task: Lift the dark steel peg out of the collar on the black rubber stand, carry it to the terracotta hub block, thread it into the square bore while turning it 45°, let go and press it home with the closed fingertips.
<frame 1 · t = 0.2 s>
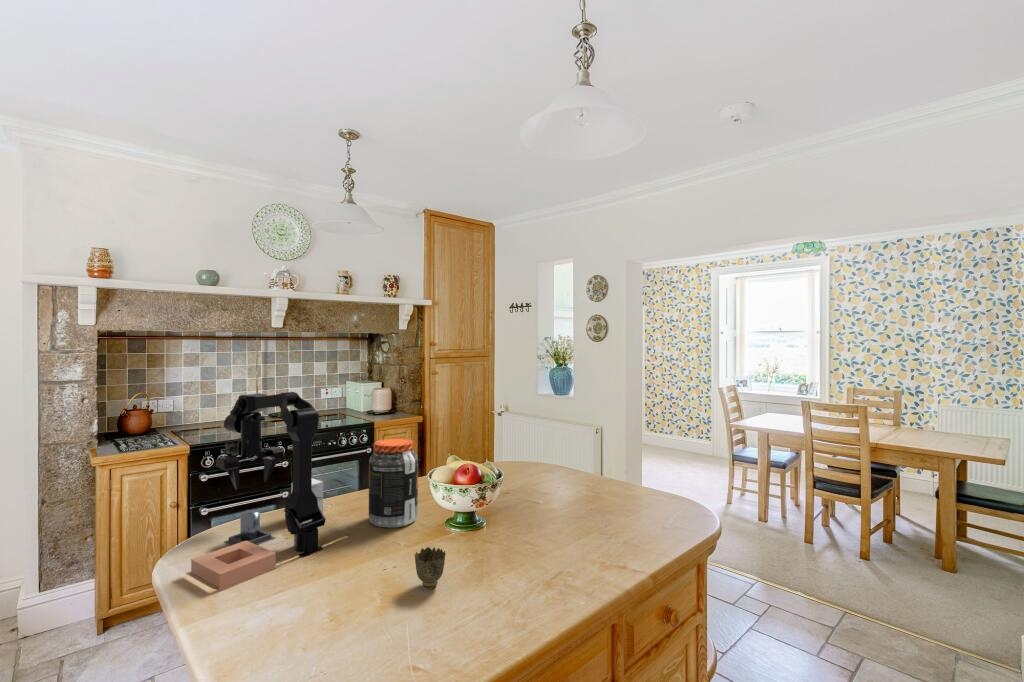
hand: (251, 485, 155), 14 cm above the table, fingers open, 9 cm apart
stand: (250, 542, 146), on the table
cup: (429, 586, 122), on the table
supplement tub: (393, 520, 165), on the table
supplement box: (307, 520, 164), on the table
steel peg: (250, 539, 146), point 1 cm above the table, touching stand
hub block: (234, 571, 128), on the table
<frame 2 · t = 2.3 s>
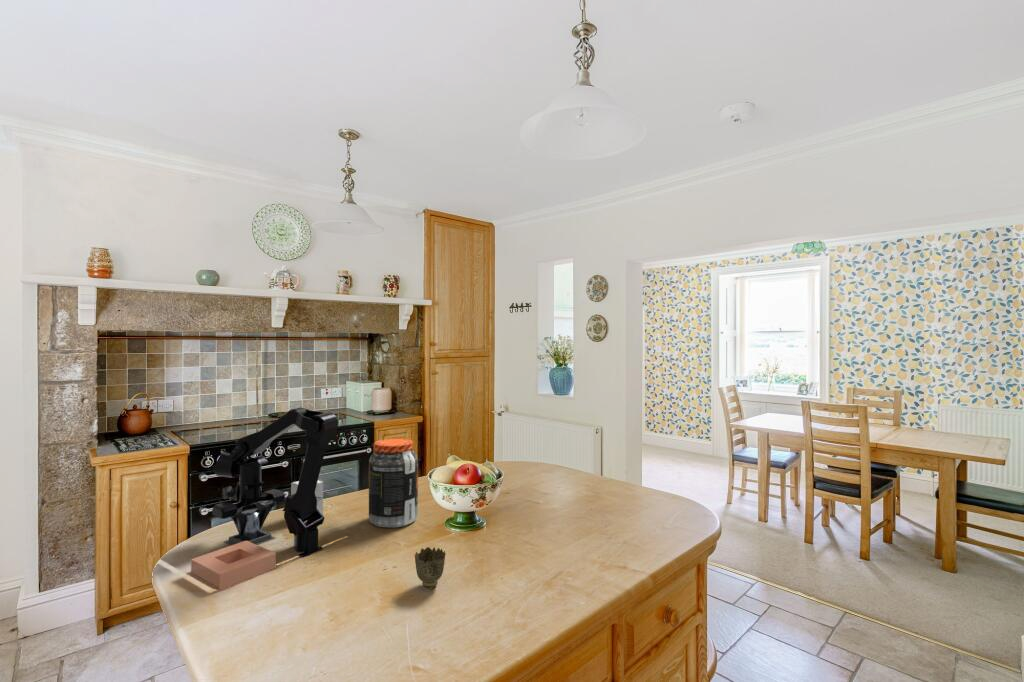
hand: (250, 532, 146), 3 cm above the table, fingers closed on steel peg, 5 cm apart
steel peg: (250, 539, 146), point 1 cm above the table, touching gripper, stand
everything else where it was.
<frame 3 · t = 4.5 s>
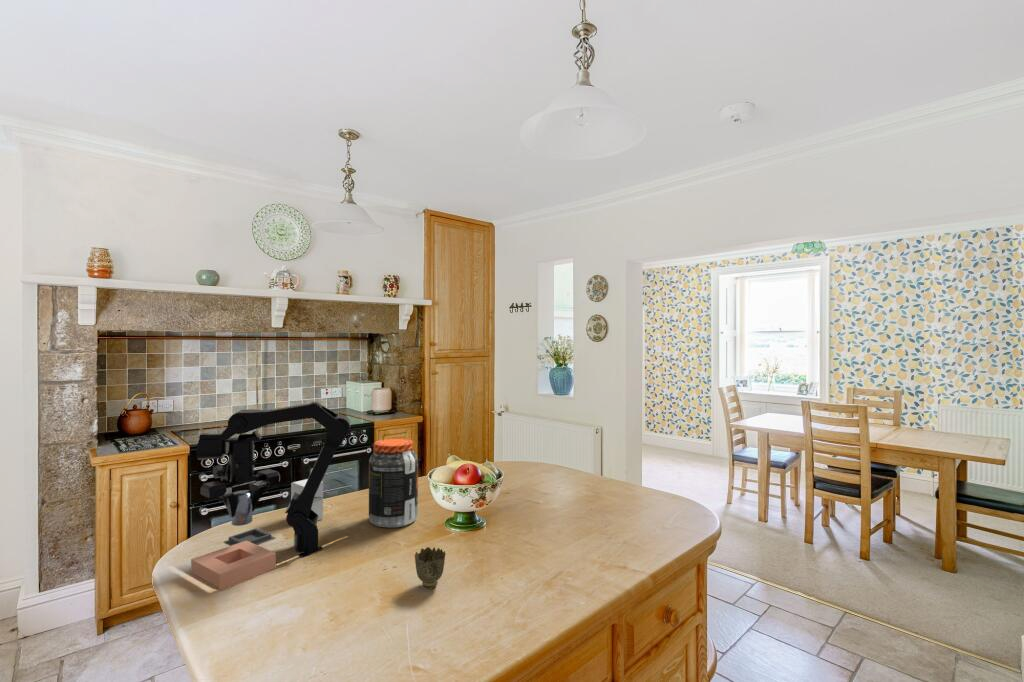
hand: (242, 514, 136), 12 cm above the table, fingers closed on steel peg, 5 cm apart
steel peg: (242, 522, 136), point 10 cm above the table, touching gripper
everything else where it was.
when the fingers open (5 cm above the table, at t = 6.8 s): steel peg drops 2 cm, resting in hub block.
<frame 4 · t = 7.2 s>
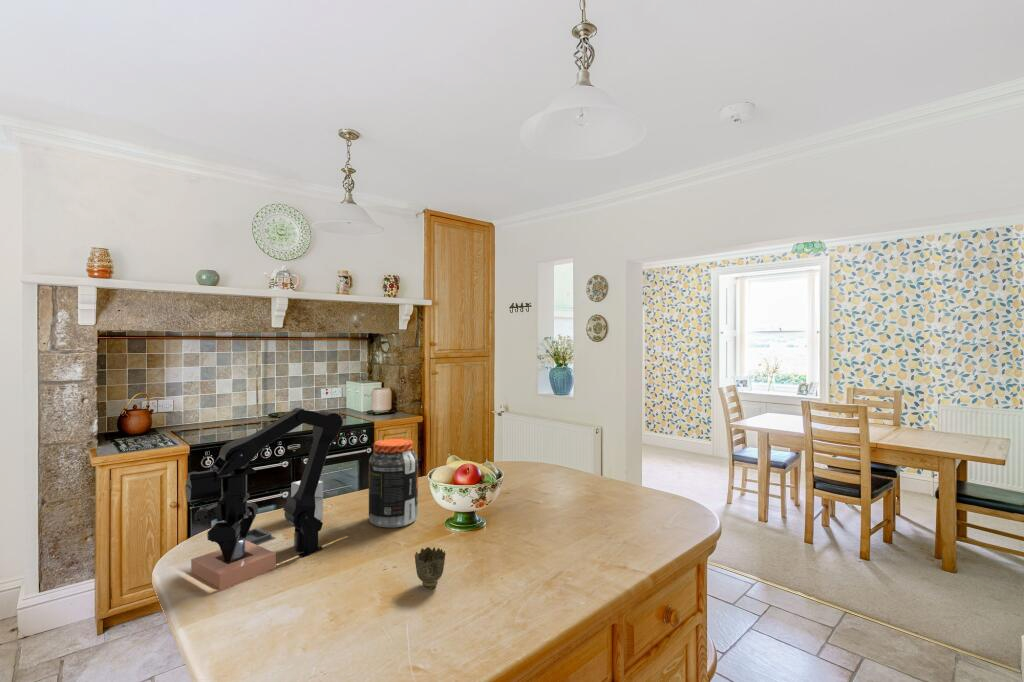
hand: (234, 553, 128), 5 cm above the table, fingers open, 9 cm apart
steel peg: (233, 571, 128), resting in hub block
everything else where it was.
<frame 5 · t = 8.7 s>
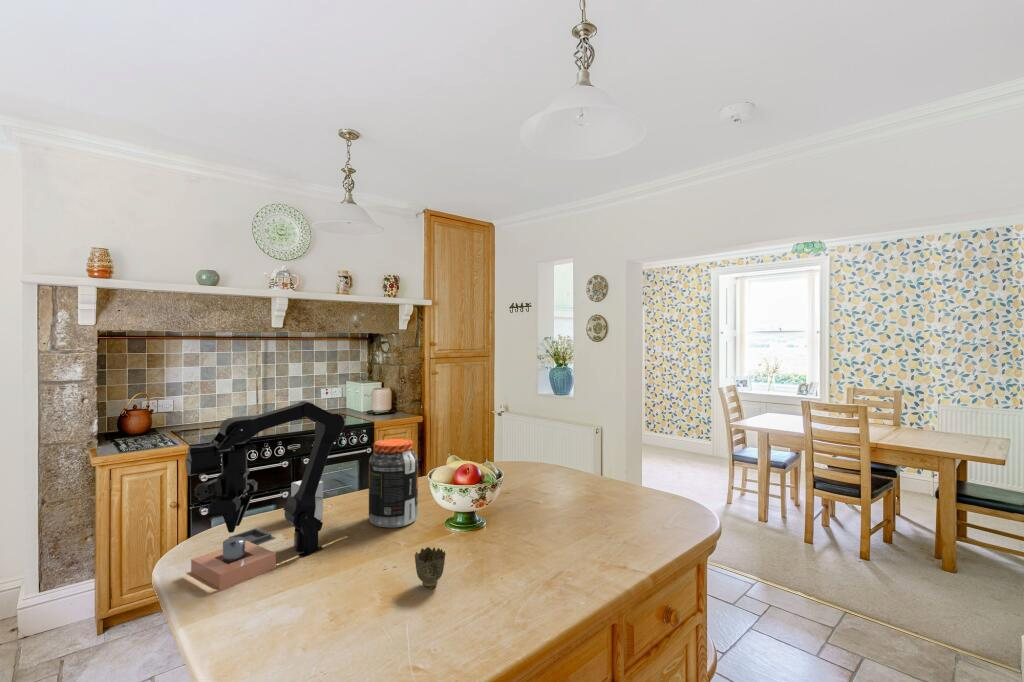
hand: (234, 529, 128), 11 cm above the table, fingers open, 4 cm apart
nothing on the table moved.
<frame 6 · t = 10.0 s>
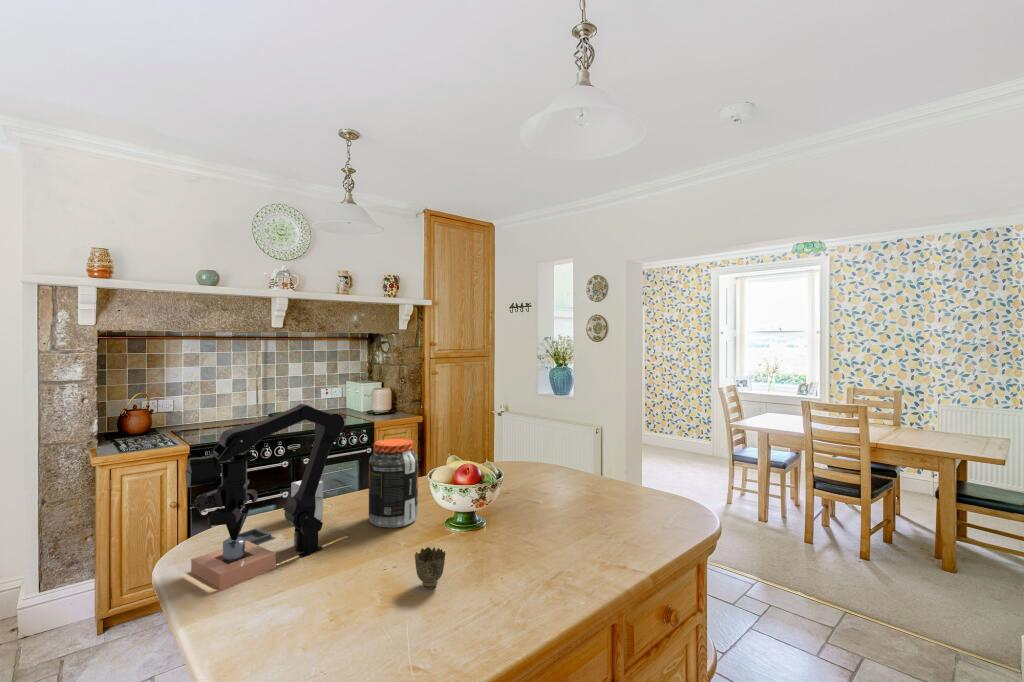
hand: (234, 539, 128), 8 cm above the table, fingers closed
nothing on the table moved.
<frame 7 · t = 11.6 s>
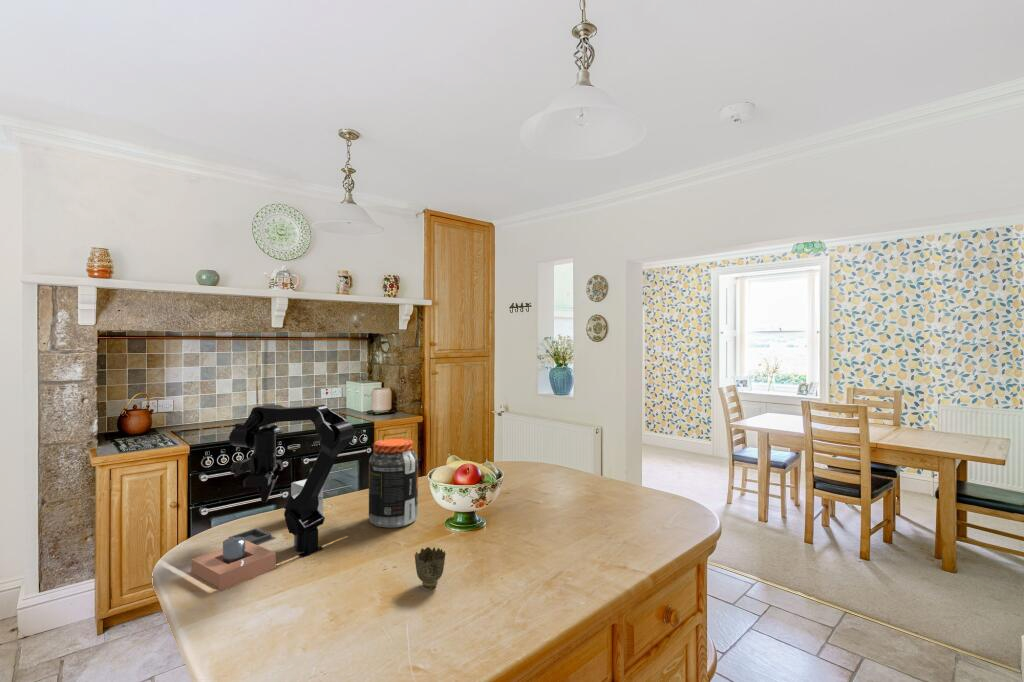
hand: (264, 502, 145), 12 cm above the table, fingers closed
nothing on the table moved.
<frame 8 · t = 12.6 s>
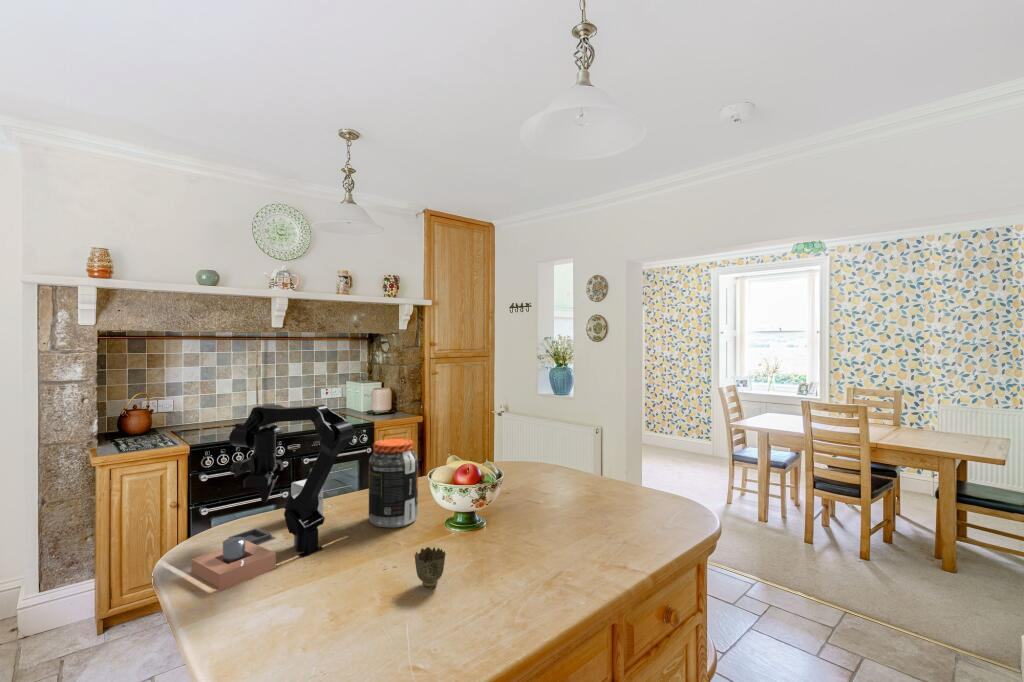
hand: (264, 502, 145), 12 cm above the table, fingers closed
nothing on the table moved.
at the end: steel peg 0.1 cm off-centre on the hub block, point 0.0 cm above the hub block's base; steel peg tilted 0°; the gripper is holding nothing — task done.
